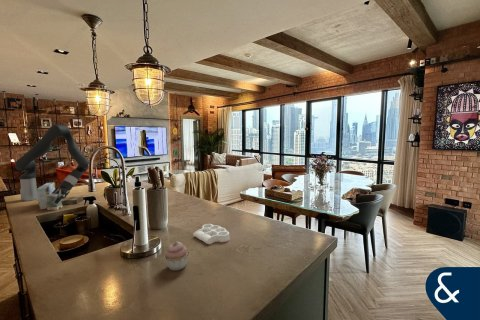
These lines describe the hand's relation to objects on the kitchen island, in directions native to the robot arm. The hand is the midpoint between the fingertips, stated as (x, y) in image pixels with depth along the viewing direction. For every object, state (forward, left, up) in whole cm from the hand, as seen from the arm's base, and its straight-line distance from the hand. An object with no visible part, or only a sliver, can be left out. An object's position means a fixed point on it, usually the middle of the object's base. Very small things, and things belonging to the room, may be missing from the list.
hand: (52, 202), depth 161 cm
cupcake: (+93, -89, -5) cm, 129 cm away
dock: (+3, +16, -5) cm, 17 cm away
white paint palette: (+107, -65, -5) cm, 125 cm away
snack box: (-10, +12, -5) cm, 16 cm away
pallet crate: (+1, +1, -5) cm, 5 cm away
